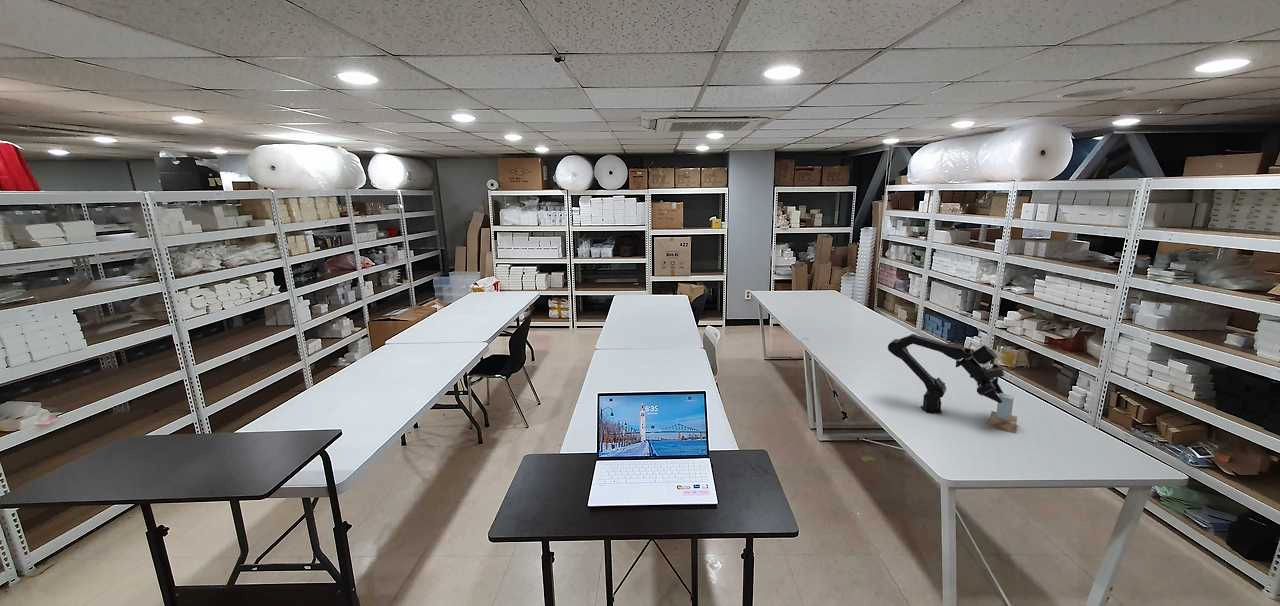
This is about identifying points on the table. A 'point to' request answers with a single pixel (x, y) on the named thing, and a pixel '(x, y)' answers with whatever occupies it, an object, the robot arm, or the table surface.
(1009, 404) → the slate block
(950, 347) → the robot arm
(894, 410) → the table surface
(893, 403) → the table surface
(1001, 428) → the tan flat square block
